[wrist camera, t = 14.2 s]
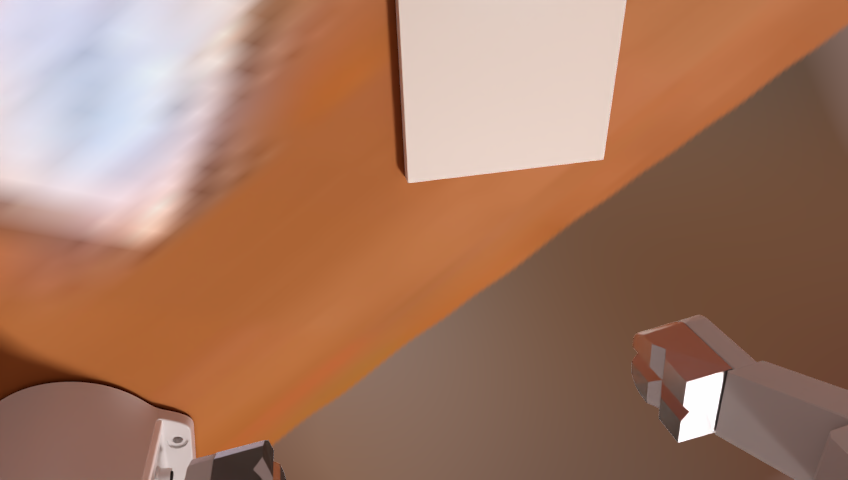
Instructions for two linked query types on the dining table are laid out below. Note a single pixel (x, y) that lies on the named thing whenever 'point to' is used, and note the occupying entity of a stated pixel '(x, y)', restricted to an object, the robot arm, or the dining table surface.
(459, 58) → the wall panel
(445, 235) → the dining table surface
